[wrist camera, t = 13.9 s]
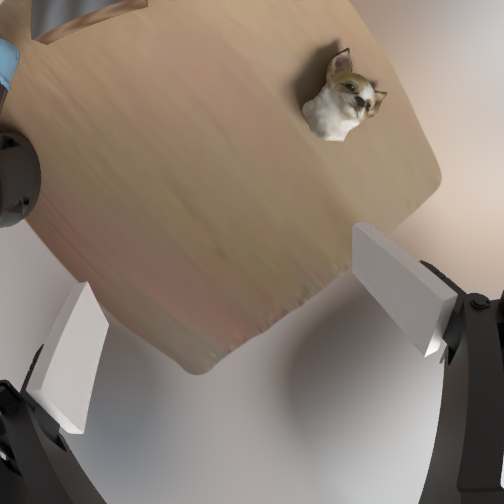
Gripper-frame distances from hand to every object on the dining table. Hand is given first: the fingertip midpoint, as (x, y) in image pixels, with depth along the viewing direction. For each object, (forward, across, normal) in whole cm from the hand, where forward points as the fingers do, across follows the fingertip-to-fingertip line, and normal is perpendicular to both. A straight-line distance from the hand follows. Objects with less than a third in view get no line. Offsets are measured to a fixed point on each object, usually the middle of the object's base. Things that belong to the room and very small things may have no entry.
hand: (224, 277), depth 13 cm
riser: (+29, -12, +33) cm, 45 cm away
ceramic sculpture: (+29, +20, +8) cm, 36 cm away
